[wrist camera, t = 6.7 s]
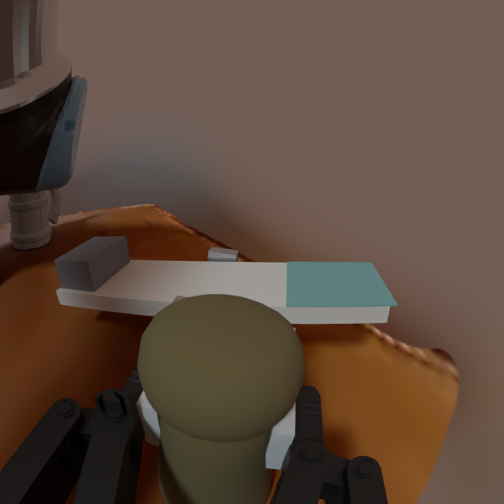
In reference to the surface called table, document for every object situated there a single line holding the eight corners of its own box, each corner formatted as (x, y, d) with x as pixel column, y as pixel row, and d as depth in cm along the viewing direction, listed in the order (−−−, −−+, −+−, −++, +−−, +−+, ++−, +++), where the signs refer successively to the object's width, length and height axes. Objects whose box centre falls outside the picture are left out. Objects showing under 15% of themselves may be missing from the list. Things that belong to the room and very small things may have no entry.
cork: (139, 461, 12) (94, 291, 8) (226, 424, 16) (243, 261, 12) (199, 545, 8) (182, 444, 4) (294, 489, 12) (370, 335, 8)
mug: (3, 246, 35) (-4, 171, 30) (47, 225, 46) (44, 161, 41) (30, 253, 34) (23, 171, 30) (75, 230, 45) (73, 161, 41)
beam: (60, 304, 20) (48, 262, 19) (102, 270, 26) (95, 235, 25) (393, 322, 17) (403, 270, 16) (369, 276, 24) (373, 235, 22)
